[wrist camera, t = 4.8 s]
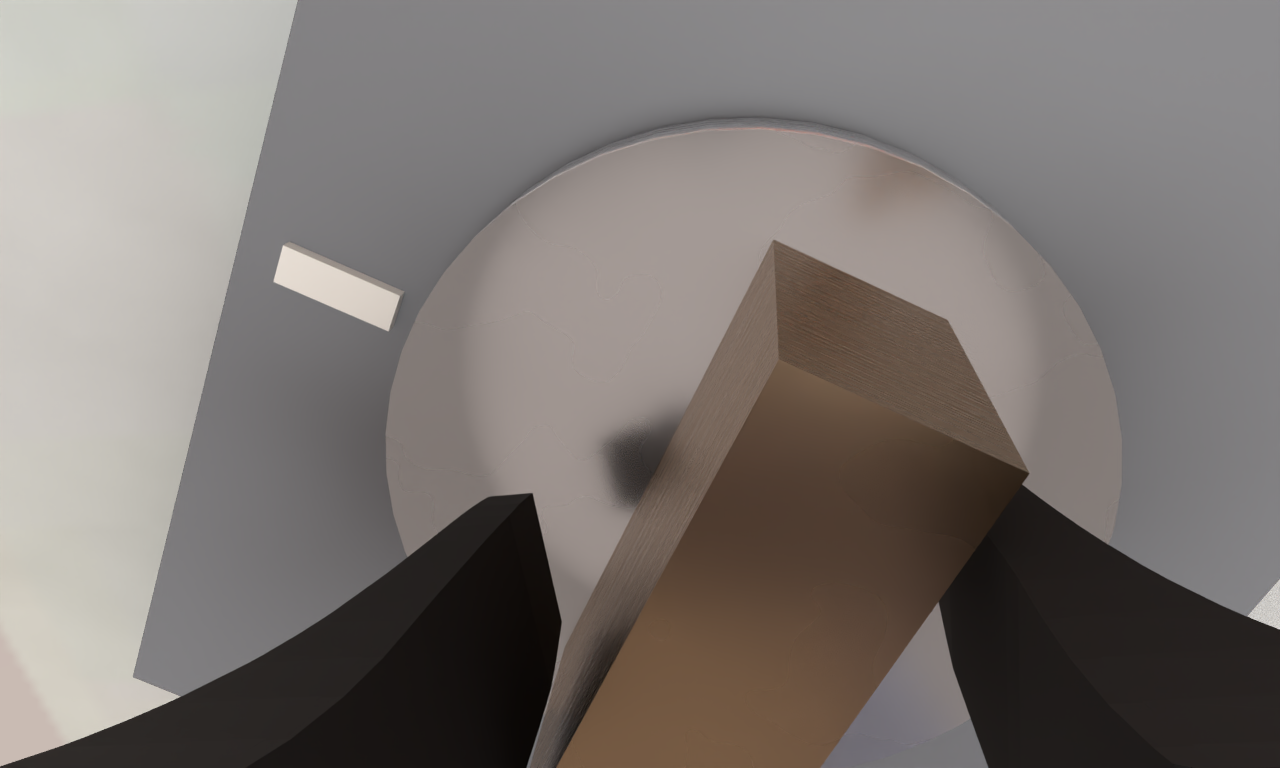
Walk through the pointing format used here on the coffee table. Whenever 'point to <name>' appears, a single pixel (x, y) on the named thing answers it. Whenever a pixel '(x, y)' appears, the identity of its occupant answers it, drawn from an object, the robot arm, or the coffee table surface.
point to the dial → (750, 433)
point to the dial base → (728, 89)
